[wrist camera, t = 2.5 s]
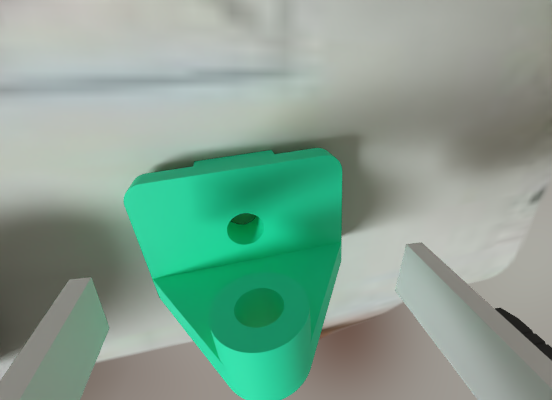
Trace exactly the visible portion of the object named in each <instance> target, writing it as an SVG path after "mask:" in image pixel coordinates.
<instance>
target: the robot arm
mask: <svg viewBox="0 0 552 400" xmlns="http://www.w3.org/2000/svg"><path fill="white" fill-rule="evenodd" d="M395 291H396V292H397V294H398V295H399V296H400V298H401V299H402V300H403V302H404V303H405V304H406V306H407V307H408V308H409V309H410V311H411V312H412V314H413V315H414V316H415V318H416V319H417V320H418V321H419V323H420V324H421V325H422V327H423V328H424V329H425V331H426V332H427V333H428V335H429V336H430V337H431V339H432V340H433V341H434V343H435V344H436V345H437V347H438V348H439V349H440V351H441V352H442V353H443V354H444V356H445V357H446V358H447V360H448V361H449V362H450V364H451V365H452V366H453V368H454V369H455V370H456V372H457V373H458V374H459V376H460V377H461V378H462V380H463V381H464V382H465V384H466V385H467V386H468V388H469V389H470V390H471V391H472V393H473V394H474V396H475V397H476V398H477V400H552V348H551V347H550V346H549V345H546V344H545V341H544V340H542V339H541V338H540V337H539V336H538V335H537V334H534V333H533V332H532V330H531V329H530V328H529V327H527V326H526V325H525V324H524V323H523V322H522V321H521V320H519V319H518V318H517V317H515V316H513V315H512V314H510V313H508V312H507V311H505V310H503V309H501V308H495V309H494V308H493V307H492V306H491V305H490V304H489V303H488V302H486V301H485V300H484V299H483V298H482V297H481V296H480V295H479V294H478V293H476V292H475V291H474V290H473V289H472V288H471V287H470V286H469V285H468V284H467V283H466V282H465V281H463V280H462V279H461V278H460V277H459V276H458V275H457V274H456V273H455V272H454V271H452V270H451V269H450V268H449V267H448V266H447V265H446V264H445V263H444V262H443V261H441V260H440V259H439V258H438V257H437V256H436V255H435V254H434V253H433V252H432V251H431V250H429V249H428V248H427V247H426V246H425V245H424V244H423V243H413V244H406V248H405V252H404V256H403V260H402V265H401V269H400V273H399V277H398V281H397V285H396V289H395ZM108 330H109V326H108V323H107V320H106V317H105V314H104V312H103V309H102V306H101V303H100V300H99V297H98V295H97V292H96V289H95V286H94V283H93V280H92V278H91V277H88V278H78V279H69V281H68V282H67V284H66V285H65V286H64V288H63V289H62V291H61V292H60V294H59V295H58V297H57V298H56V300H55V301H54V303H53V304H52V306H51V307H50V309H49V310H48V311H47V313H46V314H45V316H44V317H43V319H42V320H41V322H40V323H39V325H38V326H37V328H36V329H35V331H34V332H33V334H32V335H31V336H30V338H29V339H28V341H27V342H26V344H25V345H24V347H23V348H22V350H21V351H20V353H19V354H18V356H17V357H16V358H15V360H14V361H13V363H12V364H11V366H10V367H9V369H8V370H7V372H6V373H5V375H4V376H3V378H2V379H1V381H0V400H80V399H81V396H82V394H83V391H84V389H85V386H86V384H87V381H88V379H89V377H90V374H91V372H92V369H93V367H94V364H95V362H96V359H97V357H98V355H99V352H100V350H101V347H102V345H103V342H104V340H105V337H106V335H107V333H108Z"/></svg>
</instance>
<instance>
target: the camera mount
mask: <svg viewBox="0 0 552 400" xmlns="http://www.w3.org/2000/svg"><path fill="white" fill-rule="evenodd" d="M124 205H125V208H126V211H127V214H128V216H129V219H130V221H131V224H132V227H133V229H134V232H135V235H136V237H137V240H138V242H139V245H140V248H141V250H142V253H143V256H144V258H145V261H146V263H147V266H148V269H149V271H150V274H151V277H152V279H153V282H154V285H155V287H156V290H157V292H158V295H159V298H160V299H161V300H162V301H163V303H164V304H165V305H166V307H167V308H168V309H169V310H170V312H171V313H172V314H173V315H174V317H175V318H176V319H177V321H178V322H179V323H180V324H181V326H182V327H183V328H184V329H185V331H186V332H187V333H188V335H189V336H190V337H191V338H192V340H193V341H194V342H195V344H196V345H197V346H198V347H199V349H200V350H201V351H202V352H203V354H204V355H205V356H206V357H207V359H208V360H209V361H210V362H211V364H212V365H213V366H214V368H215V369H216V370H217V372H218V373H219V374H220V375H221V377H222V378H223V379H224V380H225V382H226V383H227V384H228V386H229V387H230V388H231V389H232V390H233V391H234V392H235V393H236V394H237V395H238V396H240V397H242V398H243V399H246V400H282V399H284V398H286V397H288V396H289V395H291V394H292V393H294V392H295V391H296V390H297V389H298V388H299V387H300V386H301V385H302V384H303V383H304V381H305V380H306V378H307V376H308V374H309V372H310V369H311V365H312V362H313V358H314V355H315V351H316V347H317V344H318V341H319V337H320V334H321V330H322V326H323V323H324V319H325V316H326V312H327V309H328V305H329V302H330V298H331V295H332V291H333V288H334V284H335V281H336V277H337V273H338V270H339V266H340V263H341V231H342V166H341V163H340V162H339V161H338V160H337V159H336V158H335V157H334V156H333V155H331V154H330V153H329V152H328V151H327V150H325V149H322V148H312V149H306V150H299V151H292V152H286V153H279V154H274V153H273V152H272V150H267V151H261V152H254V153H247V154H241V155H234V156H227V157H220V158H214V159H207V160H200V161H194V165H193V167H186V168H179V169H173V170H166V171H159V172H153V173H146V174H142V175H140V176H138V177H137V178H136V179H135V180H134V181H133V183H132V184H131V186H130V187H129V189H128V190H127V192H126V194H125V196H124ZM243 213H250V214H254V215H256V218H255V219H254V220H253V221H251V222H249V223H247V224H236V223H233V222H232V221H231V219H233V218H234V217H235V216H237V215H239V214H243Z"/></svg>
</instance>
